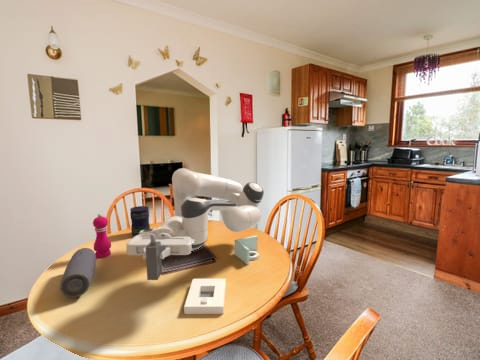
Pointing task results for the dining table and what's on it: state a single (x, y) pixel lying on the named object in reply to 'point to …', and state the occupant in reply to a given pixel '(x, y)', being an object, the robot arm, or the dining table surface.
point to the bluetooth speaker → (78, 273)
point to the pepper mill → (101, 237)
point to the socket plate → (206, 297)
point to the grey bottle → (153, 259)
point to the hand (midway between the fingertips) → (152, 256)
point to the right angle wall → (246, 249)
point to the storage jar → (139, 219)
